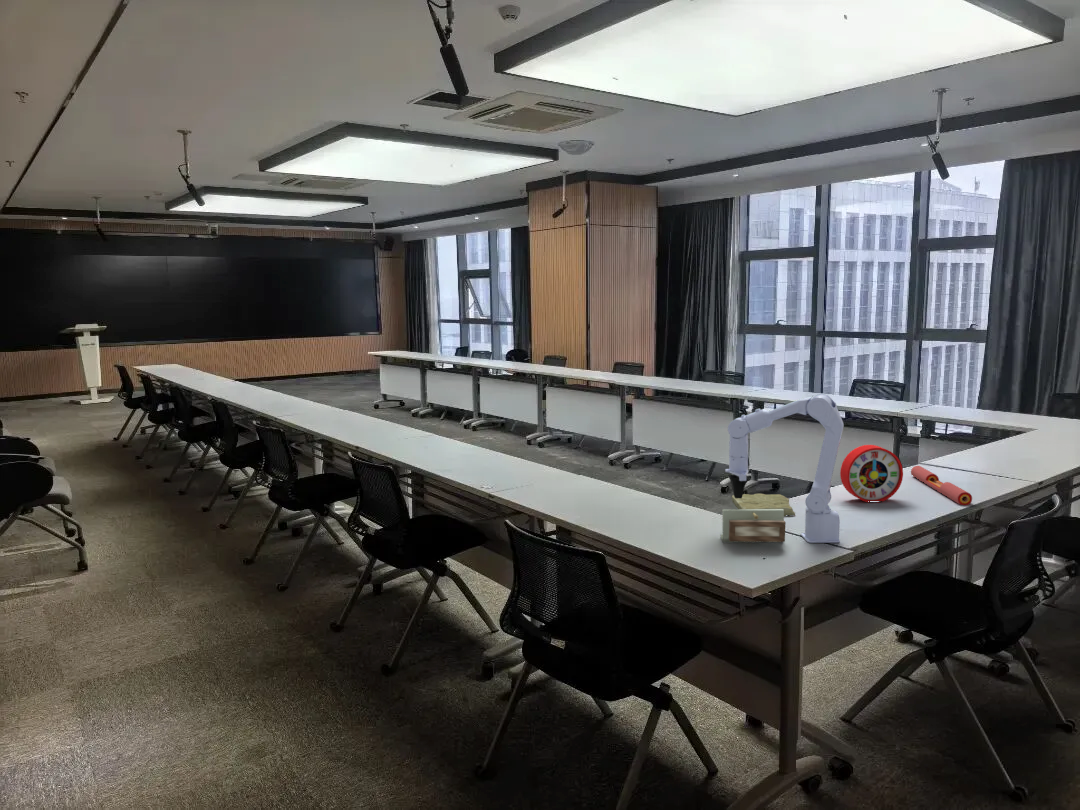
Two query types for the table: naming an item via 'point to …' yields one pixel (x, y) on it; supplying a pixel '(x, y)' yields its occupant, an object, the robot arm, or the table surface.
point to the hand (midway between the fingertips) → (738, 497)
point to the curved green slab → (747, 518)
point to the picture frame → (757, 530)
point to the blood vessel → (942, 486)
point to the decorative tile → (763, 502)
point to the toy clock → (871, 473)
